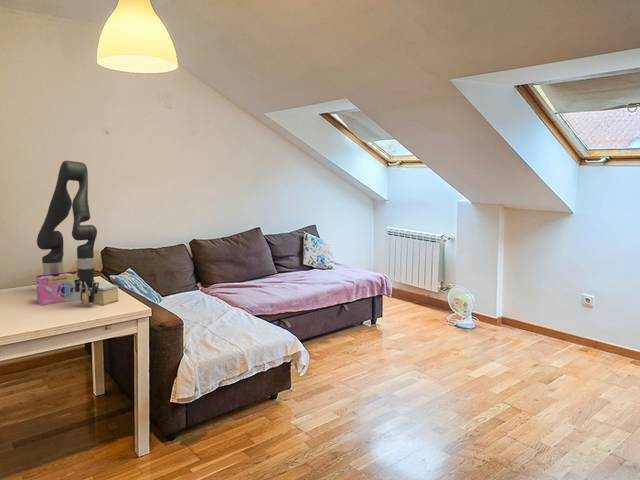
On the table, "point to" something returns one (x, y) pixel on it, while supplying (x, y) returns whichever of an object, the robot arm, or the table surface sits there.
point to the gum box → (57, 288)
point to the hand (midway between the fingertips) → (87, 301)
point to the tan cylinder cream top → (85, 297)
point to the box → (106, 297)
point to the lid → (106, 286)
